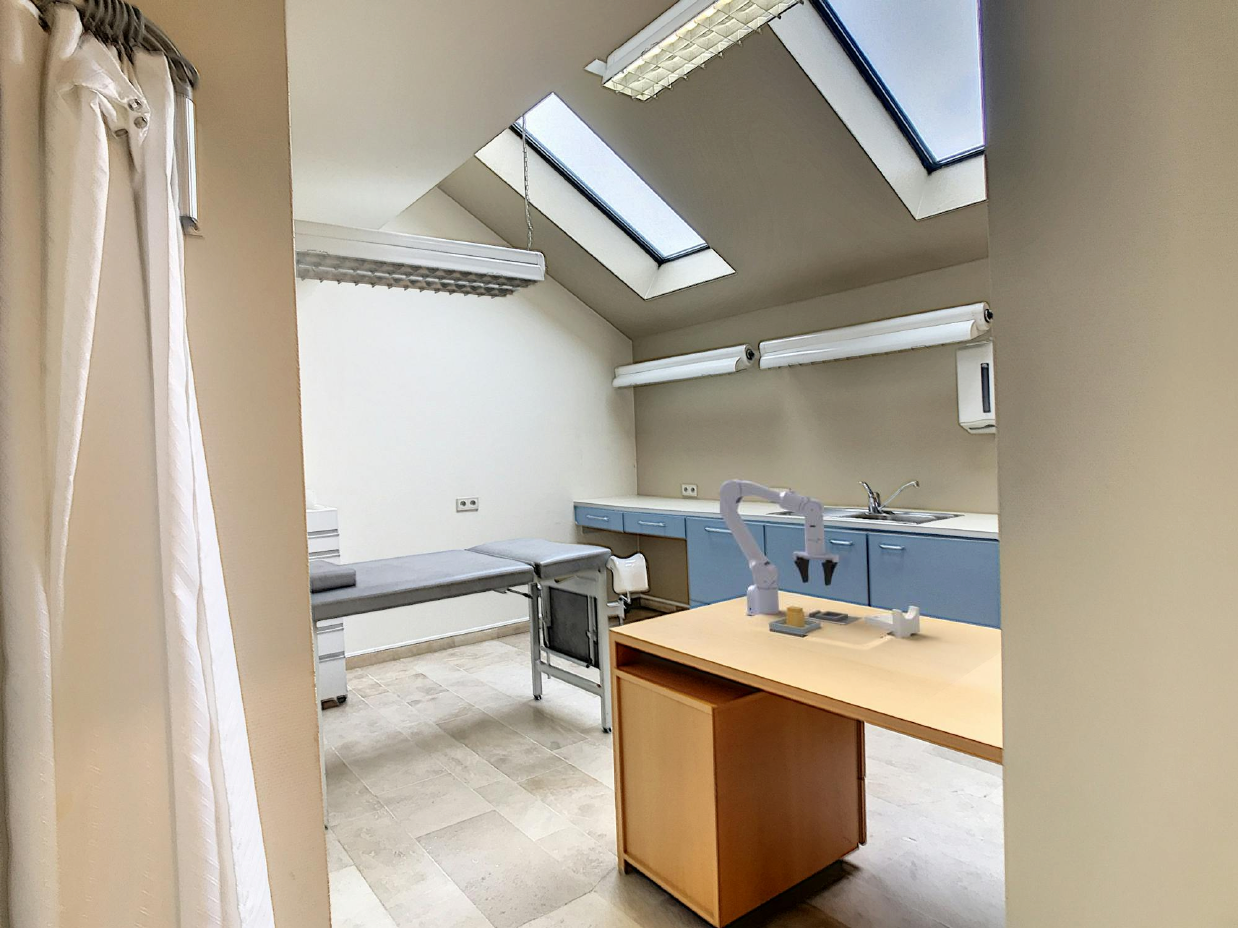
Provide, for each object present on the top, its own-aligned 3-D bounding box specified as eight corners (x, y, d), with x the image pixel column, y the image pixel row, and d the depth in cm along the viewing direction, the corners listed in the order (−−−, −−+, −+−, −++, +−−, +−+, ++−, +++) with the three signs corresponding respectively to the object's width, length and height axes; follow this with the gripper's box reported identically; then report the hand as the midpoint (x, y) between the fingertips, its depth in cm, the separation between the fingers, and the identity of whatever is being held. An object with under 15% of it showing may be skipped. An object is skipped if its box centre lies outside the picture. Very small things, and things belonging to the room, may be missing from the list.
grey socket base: (801, 621, 212) (801, 614, 212) (819, 615, 218) (819, 608, 218) (844, 629, 201) (844, 621, 201) (862, 622, 208) (862, 614, 208)
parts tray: (769, 631, 203) (769, 622, 203) (787, 624, 209) (786, 616, 209) (803, 637, 195) (802, 628, 195) (820, 630, 201) (820, 622, 201)
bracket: (920, 635, 193) (919, 607, 193) (900, 639, 190) (899, 611, 190) (884, 625, 205) (883, 599, 205) (865, 628, 202) (864, 602, 202)
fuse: (786, 628, 202) (785, 608, 202) (794, 626, 205) (793, 605, 204) (797, 631, 200) (796, 609, 199) (804, 628, 202) (803, 607, 202)
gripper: (843, 538, 213) (845, 583, 213) (801, 536, 223) (802, 579, 223) (831, 541, 208) (833, 587, 208) (788, 538, 218) (790, 582, 219)
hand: (816, 583), depth 215 cm, fingers open, 7 cm apart
